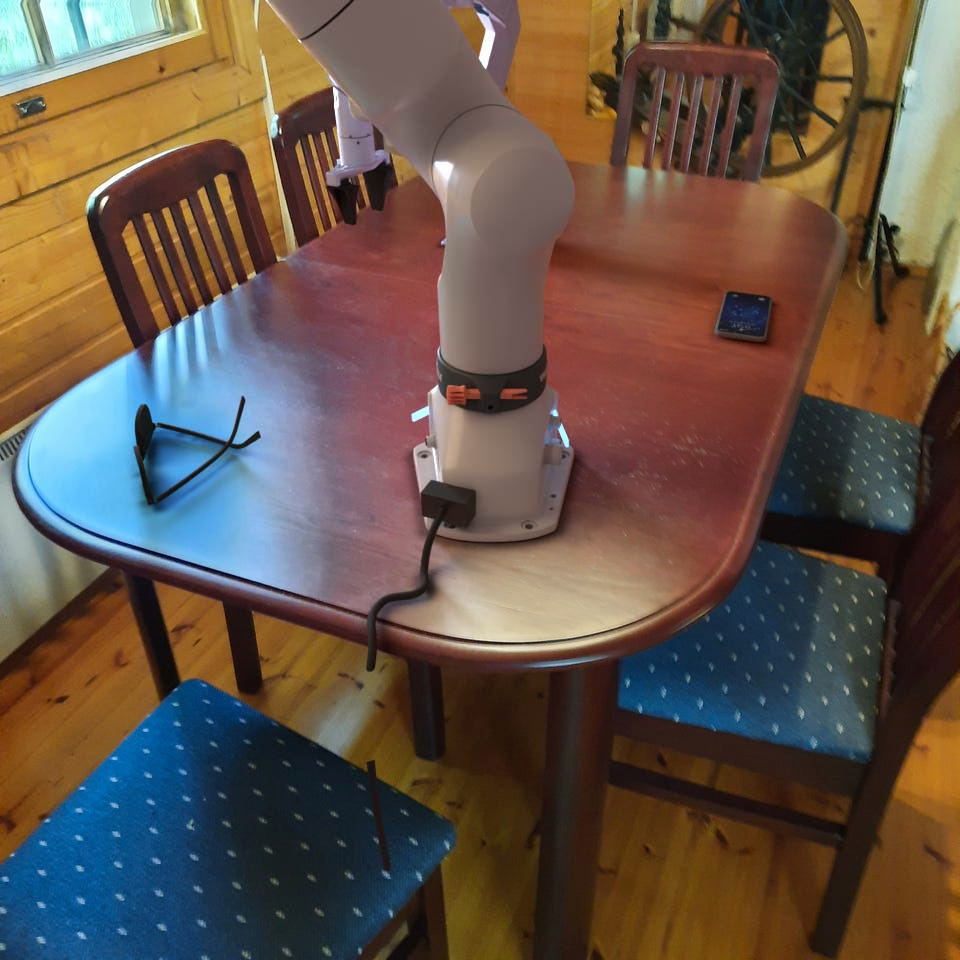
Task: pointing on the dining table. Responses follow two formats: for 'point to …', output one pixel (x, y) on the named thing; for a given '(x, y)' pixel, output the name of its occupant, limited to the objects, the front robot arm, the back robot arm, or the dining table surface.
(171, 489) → the sunglasses
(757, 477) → the dining table surface
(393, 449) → the dining table surface
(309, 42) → the front robot arm
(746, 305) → the smartphone
